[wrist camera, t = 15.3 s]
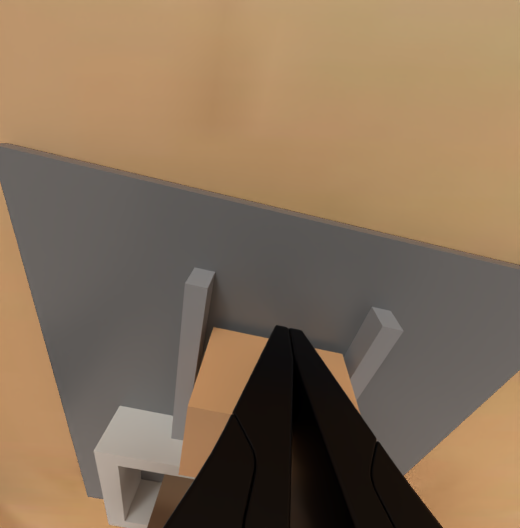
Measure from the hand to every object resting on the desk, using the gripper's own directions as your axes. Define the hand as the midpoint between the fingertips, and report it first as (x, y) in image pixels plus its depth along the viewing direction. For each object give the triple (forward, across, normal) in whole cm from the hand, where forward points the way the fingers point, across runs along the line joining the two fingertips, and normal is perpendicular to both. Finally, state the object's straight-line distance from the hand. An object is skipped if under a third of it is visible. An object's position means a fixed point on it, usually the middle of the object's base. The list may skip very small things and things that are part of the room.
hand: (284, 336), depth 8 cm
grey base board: (+2, 0, +8) cm, 9 cm away
